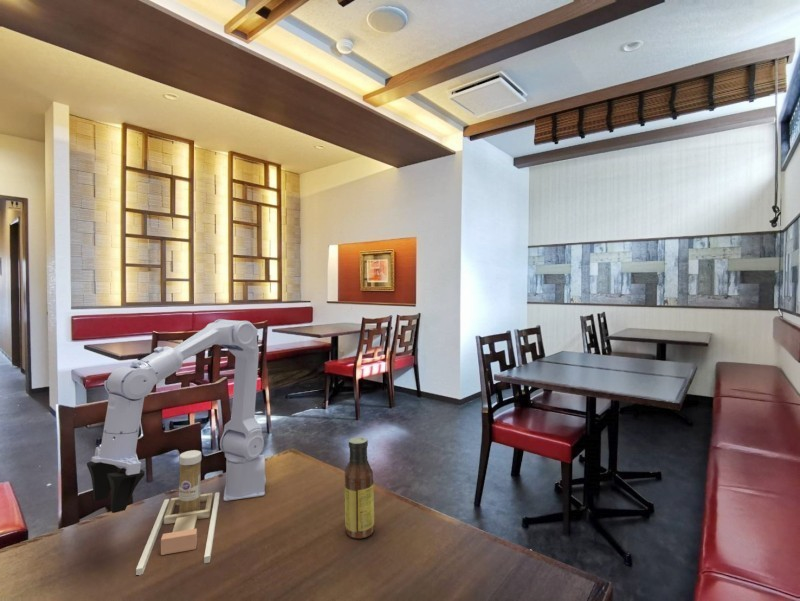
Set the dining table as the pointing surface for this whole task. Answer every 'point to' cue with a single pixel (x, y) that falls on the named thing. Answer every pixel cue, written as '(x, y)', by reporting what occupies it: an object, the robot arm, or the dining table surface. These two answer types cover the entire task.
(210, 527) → the lane rails
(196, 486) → the sprinkles bottle
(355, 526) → the sauce bottle
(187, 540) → the sliding strip
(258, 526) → the dining table surface
